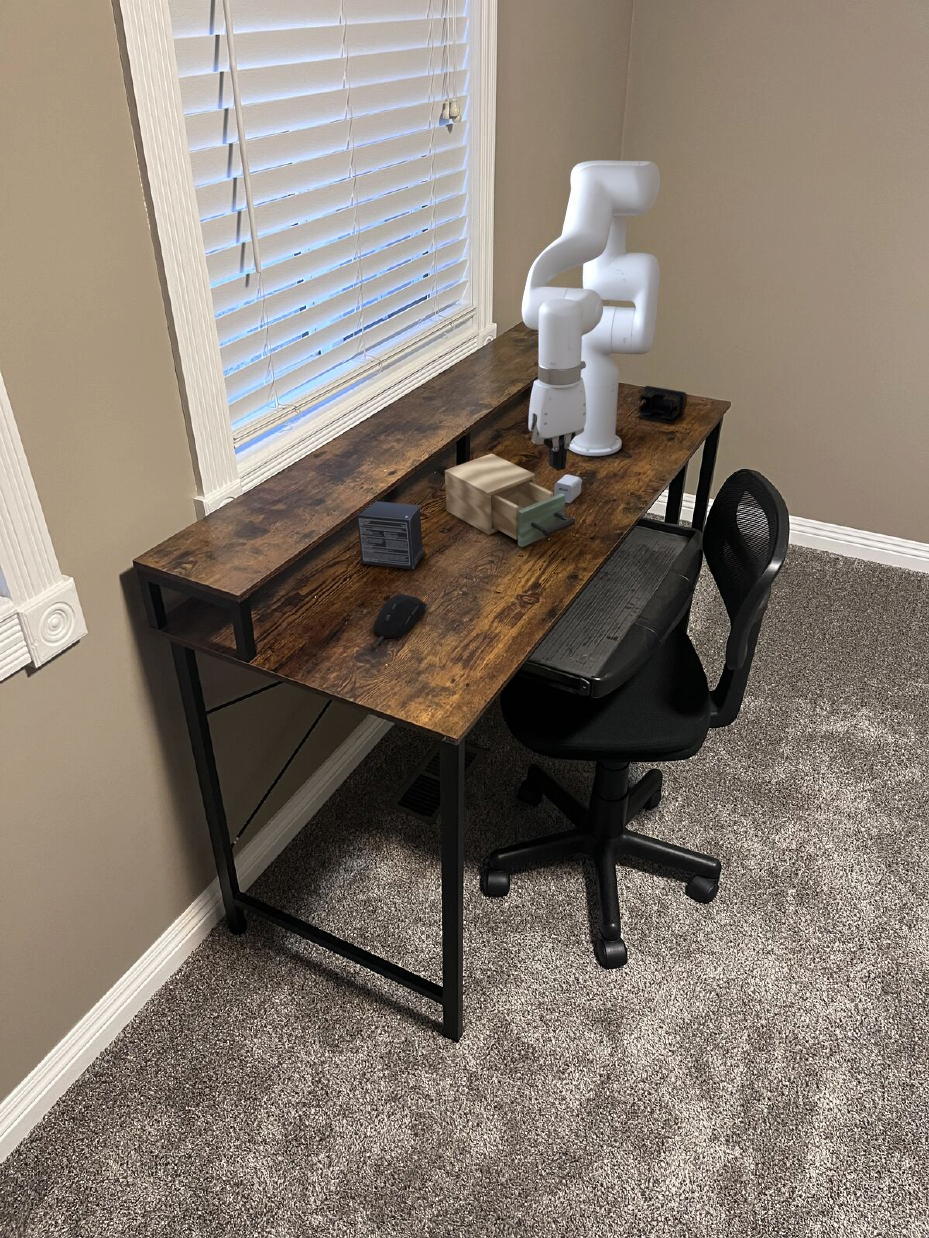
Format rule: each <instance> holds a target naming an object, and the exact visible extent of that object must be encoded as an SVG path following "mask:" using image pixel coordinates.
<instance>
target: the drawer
mask: <svg viewBox="0 0 929 1238" xmlns="http://www.w3.org/2000/svg"><path fill="white" fill-rule="evenodd" d="M565 511H566V502H565V495H564V494H562V493H560V494H558V495H555V494H554V492H553V491H551V490H549V489H547V488H545V487H542V486H541V485H538V484H536V483H535V484H534V483H532V482H530V481H526V482H524V483H521V484H519V485H516V486H514V487H511V488H509V489H506V490H503V491H501V492H498V493H496V494H493V495H491V520H492V527H494V528H496V529H498V530H499V531H500V532H501V533H503V534H505V535H507V536H509V537H511V538H512V539H514V540H516V541H517V545H518V546H519V547H521V548H524V547H526V546H528V545H530V544H533V543H535V542H538V541H540V540H541V539H545V538H546V537H549V536H551V535H554V534H556V533H558V532H560V531H562V530H564V529H567V528H569V527H571V526H573V525H575V524H576V520H575V518H574V517H567V516H565V515H566V512H565Z"/></svg>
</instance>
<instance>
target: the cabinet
mask: <svg viewBox="0 0 929 1238" xmlns="http://www.w3.org/2000/svg"><path fill="white" fill-rule="evenodd" d="M444 481H445V482H444V483H445V484H444V485H445V501H446V512H448V513H450V514H451V515H453V516H455V517H456V518H458V519H460V520H462V521H463V522H465V523H467V524H469V525H471V526H472V527H474V528H476V529H478V530H480V531H481V532H483V533H484V534H486V535H488V536H489V535H492V534H494V533H497V532H499V531H500V530H498V529H496V528H494V527H492V520H491V495H493V494H496V493H498V492H501V491H503V490H506V489H509V488H511V487H514V486H516V485H519V484H521V483H524V482H526V481H530V482H532V483H534V484H536V474H535V473H533V472H531V471H530V470H527V469H525V468H523V467H521V466H518V465H516V464H514V463H512V462H510V461H508V460H506V459H504V458H502V457H500V456H498V455H496V454H493V453H488V454H486V455H483V456H480V457H477V458H475V459H472V460H469V461H466V462H464V463H461V464H458V465H455V466H453V467H450V468H447V469H445V470H444Z"/></svg>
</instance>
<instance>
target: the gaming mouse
mask: <svg viewBox="0 0 929 1238" xmlns="http://www.w3.org/2000/svg"><path fill="white" fill-rule="evenodd" d="M425 611H426V603H425V602H424V601H423V600H421V599H420V598H418V597H417V596H414V595H413V596H412V595H409V594H405V593H400V594H396V595H392V596H391V597H389V598H388V599H387V600H386V601H385V602H384V603H383V606H382V607H381V609H380V611H379V612H378V614H377V617H376V619H375V622H374V624H373V633H374V634H376V635H377V636H378V639H377V640H376V642H375V644H374V645H373V646H372V649H373V650H375V649H376V648H377V647H378V646H379V644H381V643H382V641H383V640H384V639H397V638H399V637H401V636H404V635H405V634H406V633H407V632H408V631H409V630H410V629H412V627H413V626H414V625H415V624H416V623H417V622H418V621H419V620H420V619H421V618H422V617H423V616H424V614H425Z"/></svg>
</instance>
